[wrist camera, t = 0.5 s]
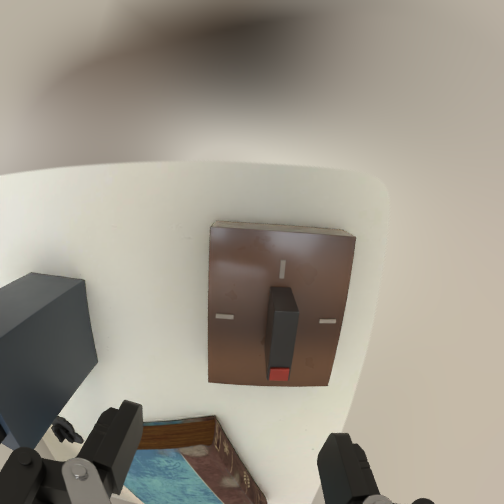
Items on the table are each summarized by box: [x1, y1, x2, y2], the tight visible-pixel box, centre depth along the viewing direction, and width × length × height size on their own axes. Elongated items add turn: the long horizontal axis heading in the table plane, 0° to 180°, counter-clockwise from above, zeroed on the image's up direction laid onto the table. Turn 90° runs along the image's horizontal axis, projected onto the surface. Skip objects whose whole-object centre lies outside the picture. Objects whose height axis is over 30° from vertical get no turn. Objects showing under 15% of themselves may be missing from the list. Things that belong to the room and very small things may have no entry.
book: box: [124, 416, 267, 504], centre depth 30 cm, size 23×18×5 cm
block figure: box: [51, 416, 83, 444], centre depth 31 cm, size 6×2×6 cm
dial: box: [264, 287, 299, 381], centre depth 21 cm, size 6×2×5 cm, turn 176°
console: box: [208, 221, 356, 387], centre depth 25 cm, size 14×11×4 cm
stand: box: [0, 272, 98, 450], centre depth 19 cm, size 10×8×18 cm
